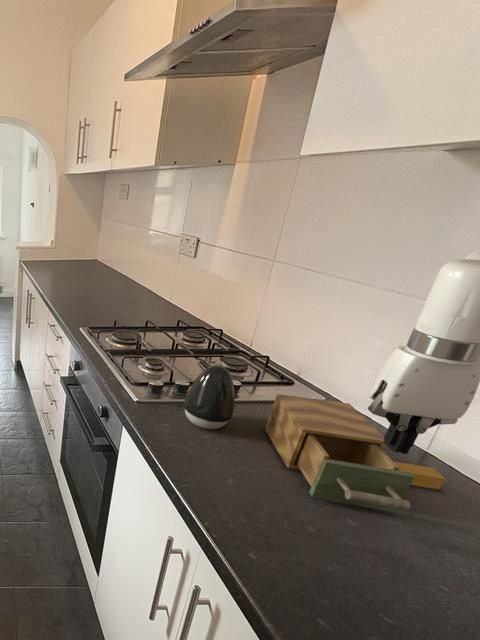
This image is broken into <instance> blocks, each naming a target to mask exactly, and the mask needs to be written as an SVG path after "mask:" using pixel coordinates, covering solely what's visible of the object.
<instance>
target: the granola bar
mask: <svg viewBox="0 0 480 640" xmlns="http://www.w3.org/2000/svg"><path fill="white" fill-rule="evenodd" d="M394 462H395V463H396V464H397V465H398V467H399V468H400V469H399V470H398V471H403V472H409V473H411V474H412V475H413V476H414V479H413V481H412V483H411V485H410V486H416V487H420V488H421V487H422V488H427V489H433V490H440V489H441V487H442V486H443V484H444V482H445V481H446V478H445V477H444V476H443V475H442V474H441V473H440V472H439V471H438V470H436V469H435V467H431V466H425V465H417V464H413V463H412V464H411V463H405V462H399V461H394Z"/></svg>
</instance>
